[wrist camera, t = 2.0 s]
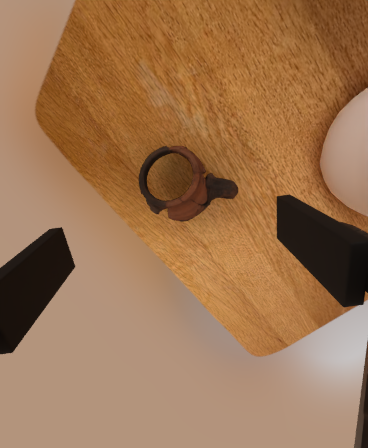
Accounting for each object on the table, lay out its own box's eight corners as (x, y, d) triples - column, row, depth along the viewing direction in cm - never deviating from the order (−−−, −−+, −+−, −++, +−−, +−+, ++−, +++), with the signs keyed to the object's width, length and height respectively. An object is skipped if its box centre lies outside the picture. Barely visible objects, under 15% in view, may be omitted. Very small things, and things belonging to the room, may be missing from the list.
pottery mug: (155, 224, 36) (130, 217, 28) (157, 162, 37) (133, 138, 29) (239, 223, 34) (237, 215, 26) (238, 156, 34) (236, 128, 26)
